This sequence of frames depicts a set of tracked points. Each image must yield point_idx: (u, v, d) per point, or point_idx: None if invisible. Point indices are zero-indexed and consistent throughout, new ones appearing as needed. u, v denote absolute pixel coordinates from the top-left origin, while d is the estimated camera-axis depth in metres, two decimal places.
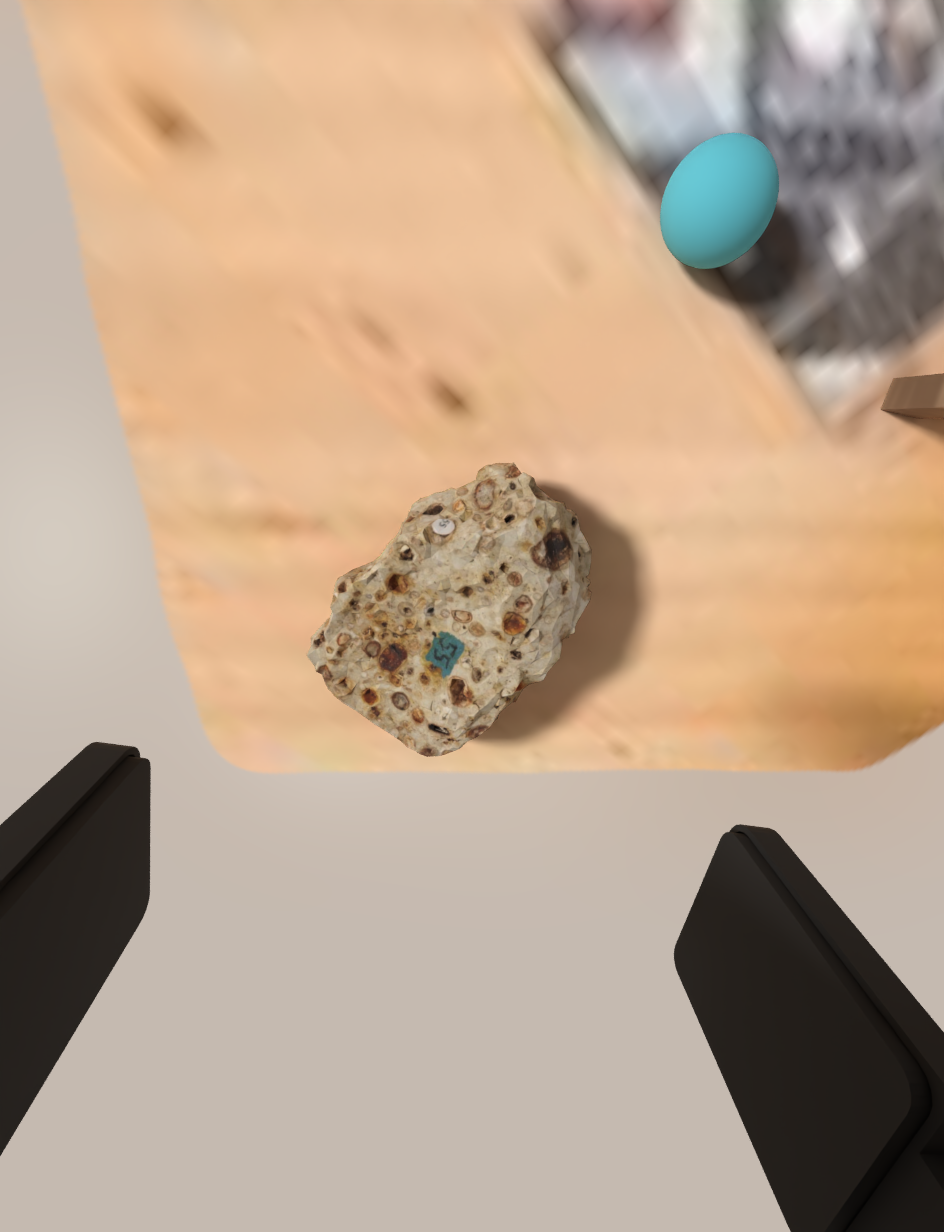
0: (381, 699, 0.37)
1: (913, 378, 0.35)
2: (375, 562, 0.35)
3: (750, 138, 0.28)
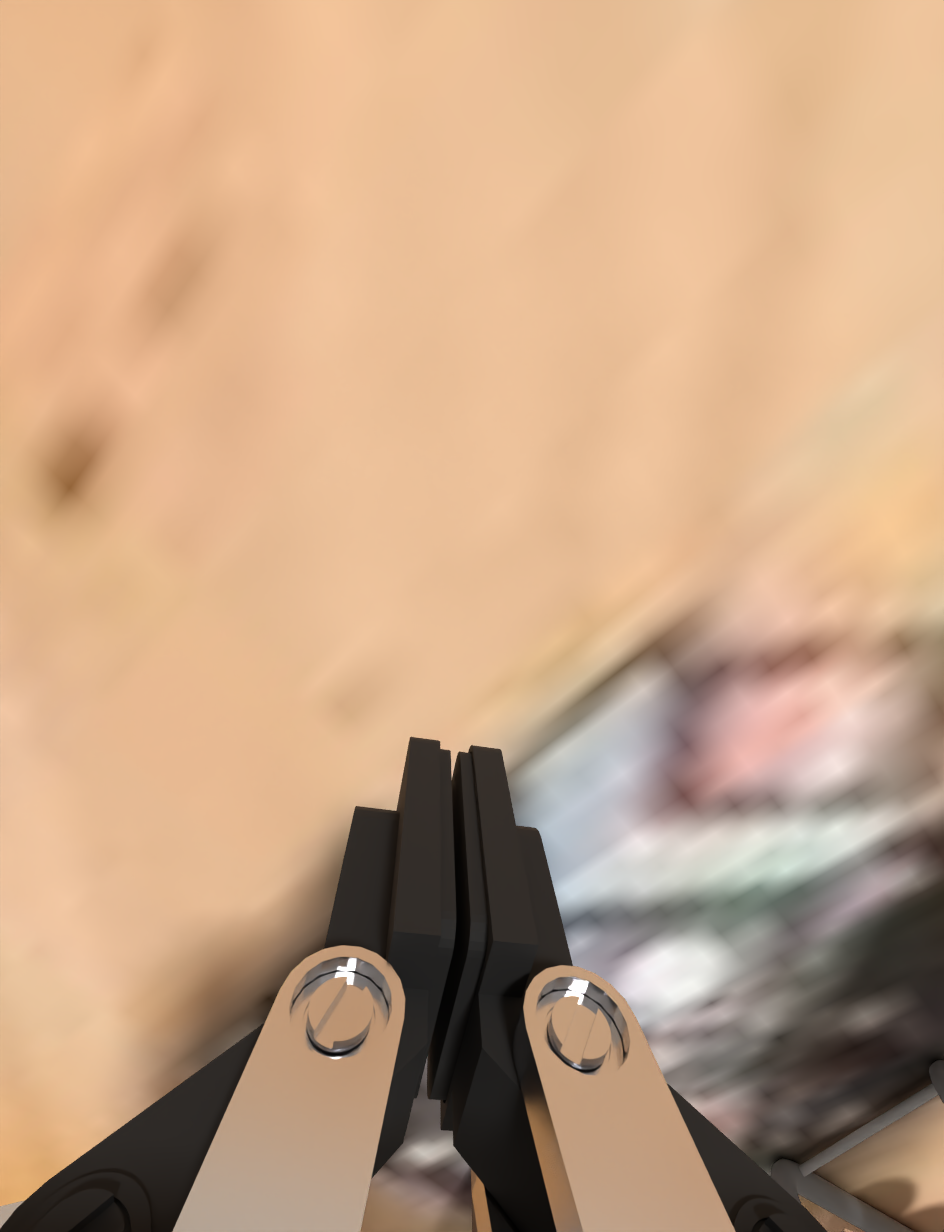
0: None
1: None
2: None
3: None
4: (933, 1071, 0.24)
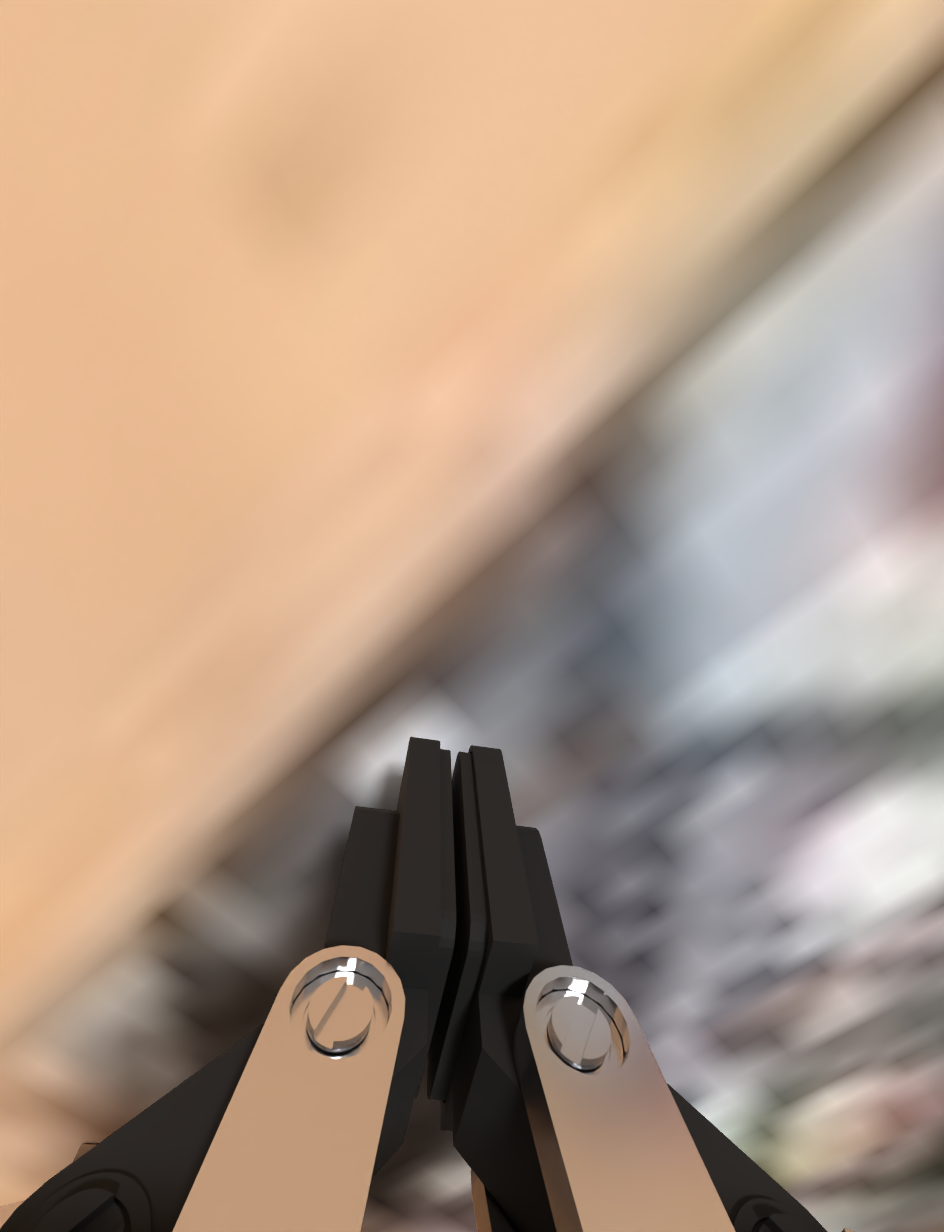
0: None
1: None
2: None
3: None
4: None
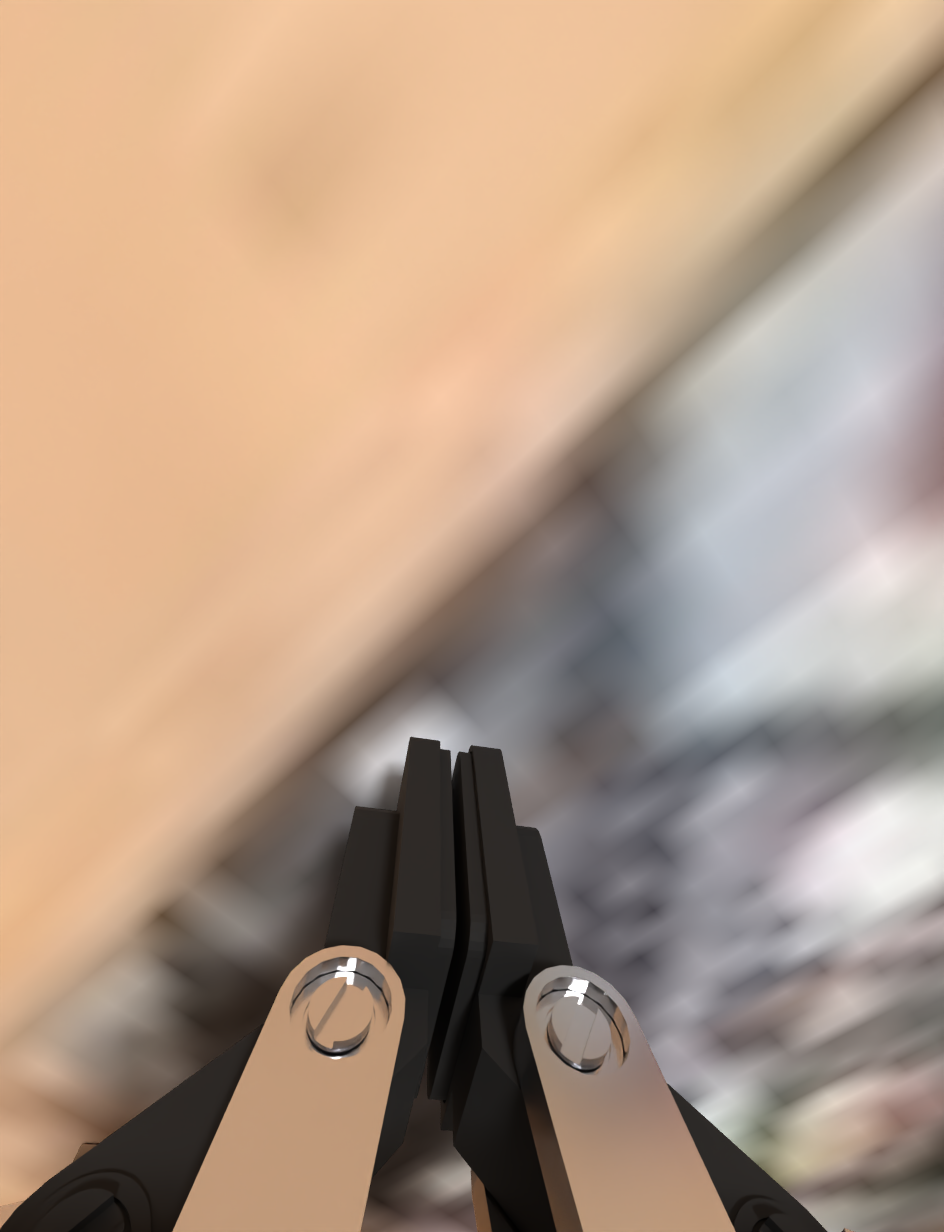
0: None
1: None
2: None
3: None
4: None
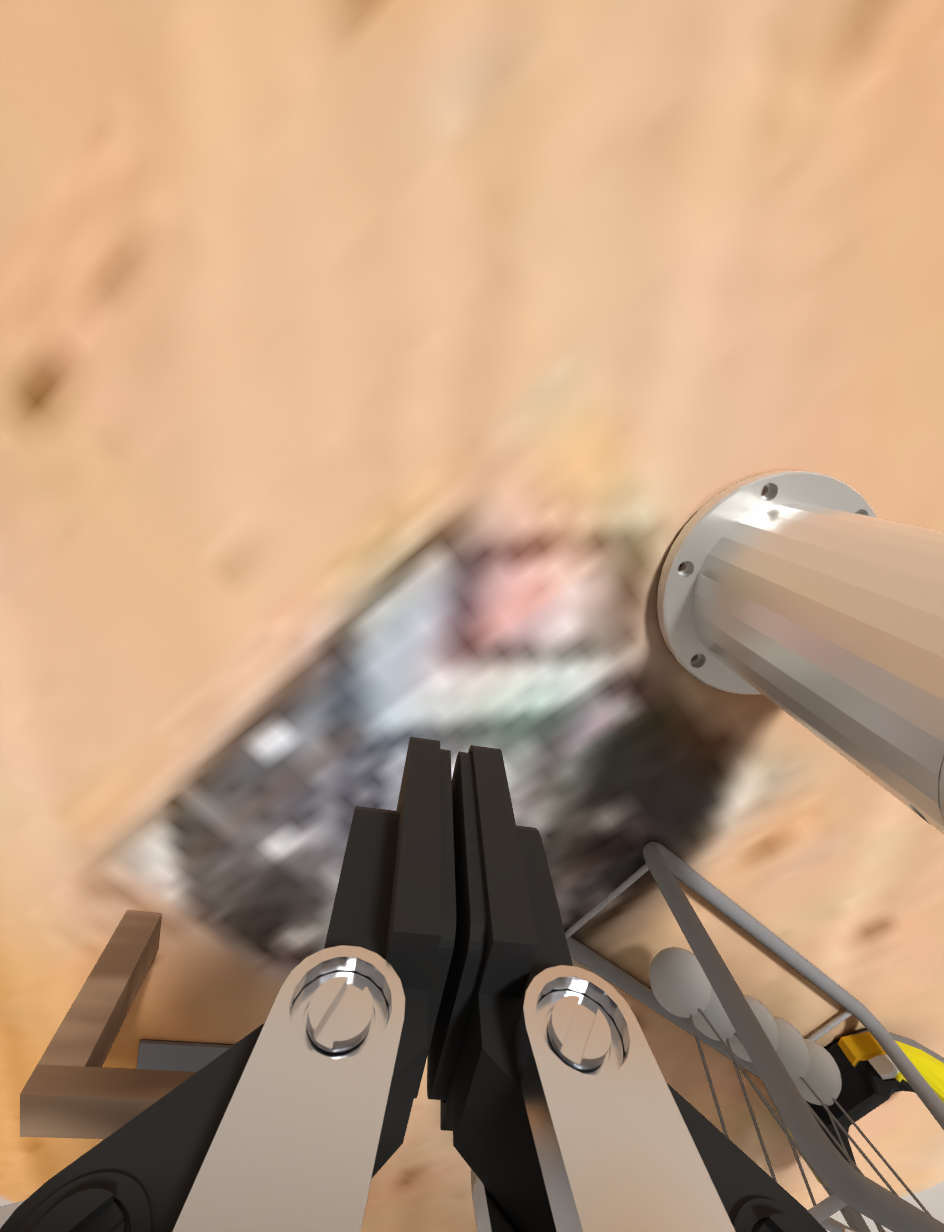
0: None
1: (147, 938, 0.32)
2: None
3: None
4: (645, 846, 0.35)
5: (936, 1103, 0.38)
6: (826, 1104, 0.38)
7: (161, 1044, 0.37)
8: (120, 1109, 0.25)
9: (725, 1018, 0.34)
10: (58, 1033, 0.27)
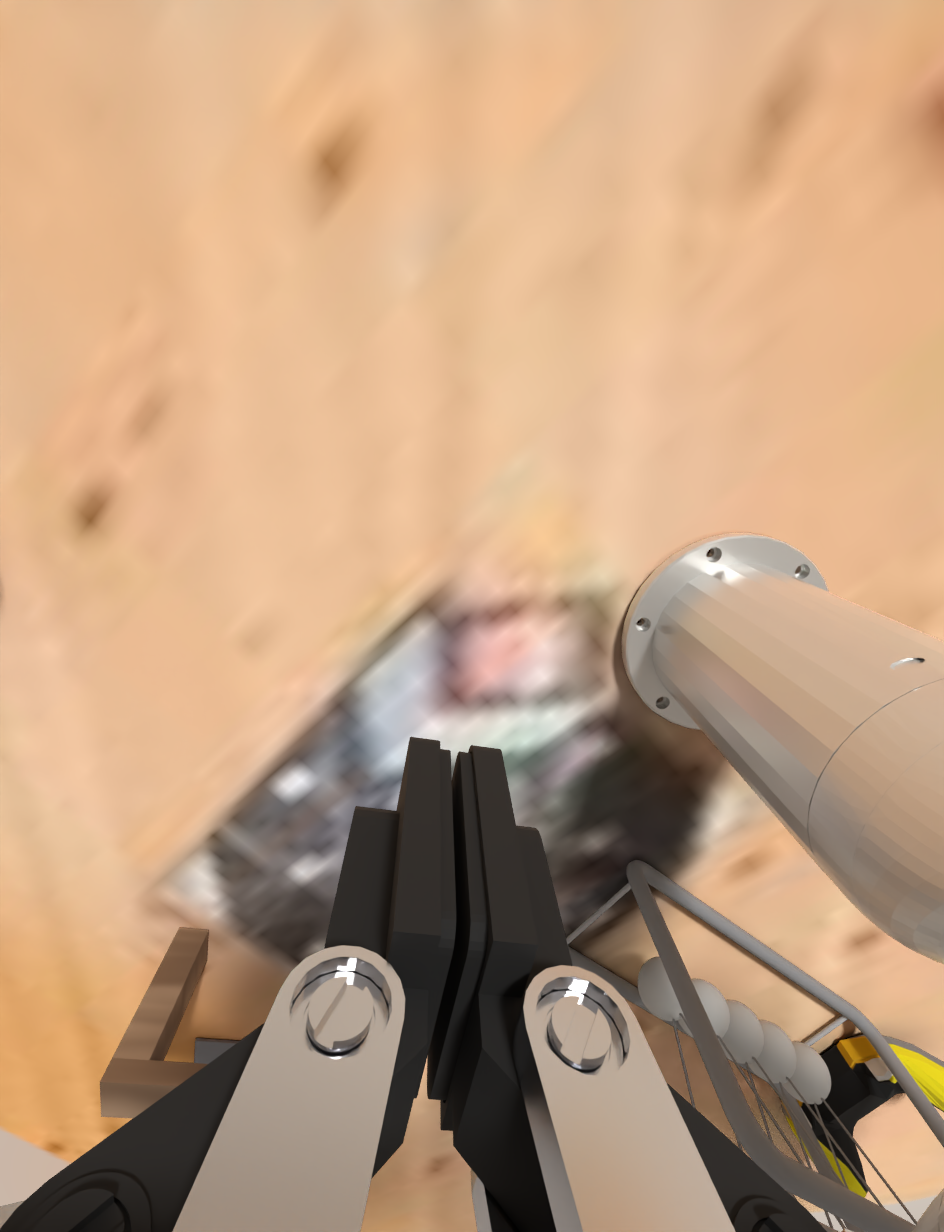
0: None
1: (196, 951, 0.37)
2: None
3: None
4: (628, 864, 0.38)
5: (924, 1104, 0.40)
6: (815, 1103, 0.40)
7: (213, 1042, 0.43)
8: None
9: None
10: (127, 1032, 0.32)
